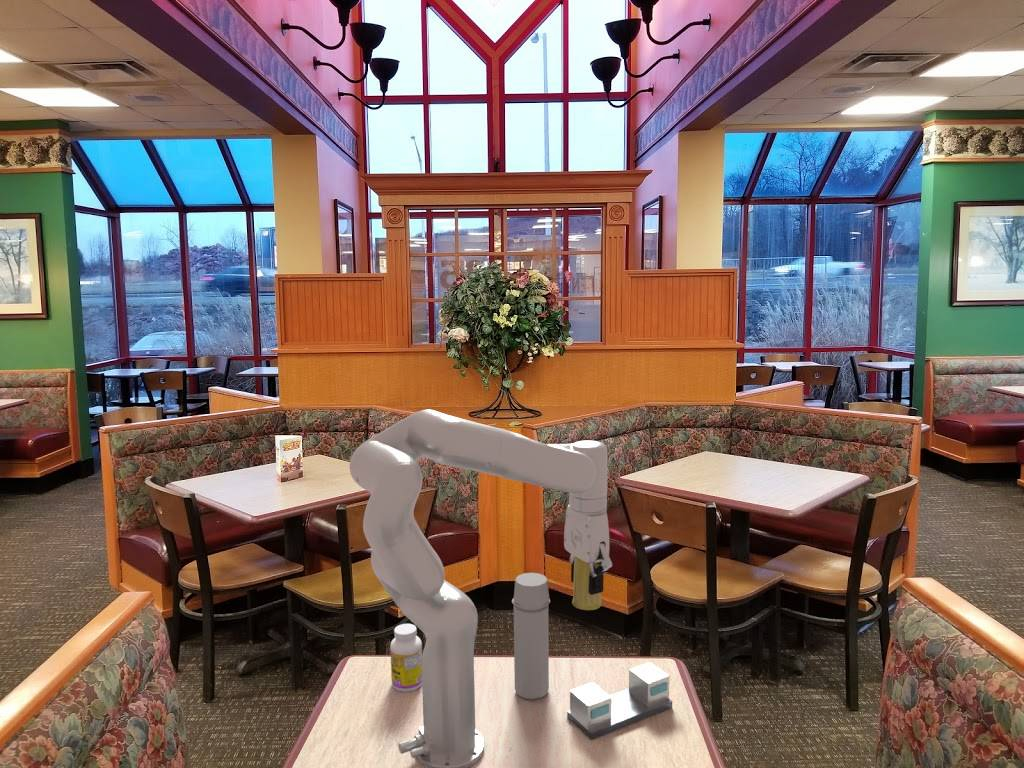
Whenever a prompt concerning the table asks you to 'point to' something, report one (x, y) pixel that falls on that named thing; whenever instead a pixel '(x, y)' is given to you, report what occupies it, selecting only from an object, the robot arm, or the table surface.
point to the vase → (584, 587)
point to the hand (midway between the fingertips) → (586, 586)
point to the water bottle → (531, 635)
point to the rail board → (620, 702)
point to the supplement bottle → (406, 658)
